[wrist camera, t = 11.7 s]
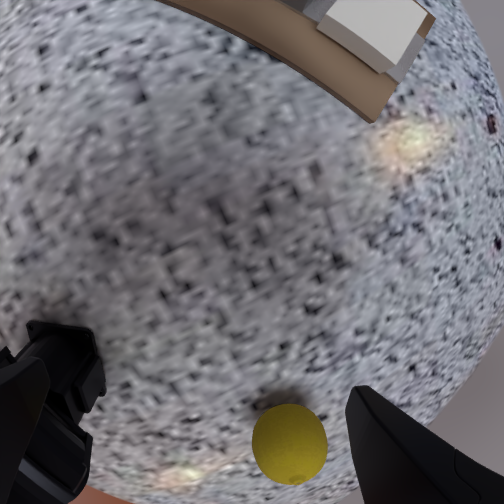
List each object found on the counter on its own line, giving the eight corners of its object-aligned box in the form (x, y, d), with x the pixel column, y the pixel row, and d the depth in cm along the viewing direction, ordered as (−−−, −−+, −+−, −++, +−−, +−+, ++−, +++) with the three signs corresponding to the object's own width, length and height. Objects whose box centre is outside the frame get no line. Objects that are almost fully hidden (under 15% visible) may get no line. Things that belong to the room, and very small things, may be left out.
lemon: (240, 424, 24) (245, 499, 16) (261, 378, 23) (274, 458, 15) (298, 432, 25) (316, 501, 17) (324, 389, 23) (354, 461, 16)
